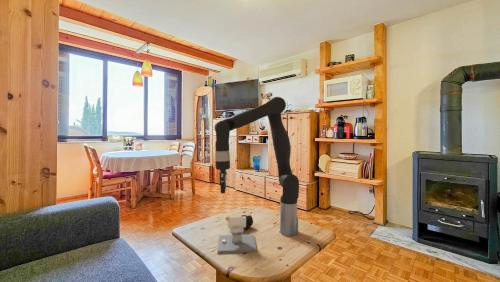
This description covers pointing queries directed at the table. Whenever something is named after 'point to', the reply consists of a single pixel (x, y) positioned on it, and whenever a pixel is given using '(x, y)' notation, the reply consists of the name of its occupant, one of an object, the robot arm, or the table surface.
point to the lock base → (242, 246)
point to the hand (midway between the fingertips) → (223, 191)
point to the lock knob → (236, 224)
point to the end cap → (248, 221)
